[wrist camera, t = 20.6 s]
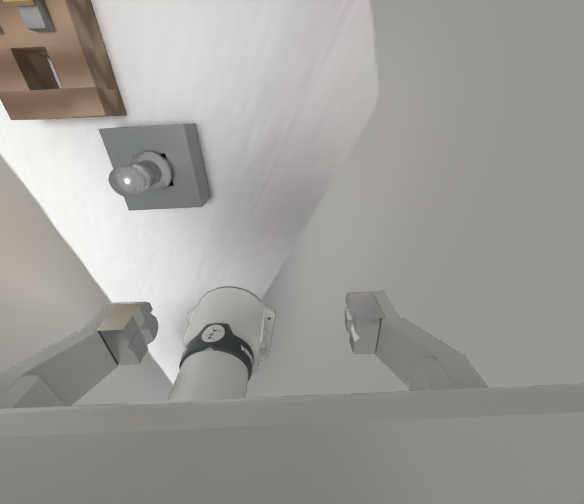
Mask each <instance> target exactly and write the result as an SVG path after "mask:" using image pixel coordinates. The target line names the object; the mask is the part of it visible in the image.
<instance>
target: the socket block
mask: <svg viewBox="0 0 584 504" xmlns="http://www.w3.org/2000/svg"><path fill="white" fill-rule="evenodd" d="M33 2H34V4H35V5H33V6H13V5H10V4H8V3H5V2H3V0H0V99H1V101H2V103H3V105H4V107H5V109H6V111H7V113H8V115H9V117H10V119H11V120H37V119H61V118H81V117H101V116H121V115H127V114H126V111H125V108H124V105H123V102H122V98H121V95H120V92H119V89H118V86H117V83H116V80H115V76H114V73H113V70H112V67H111V64H110V61H109V58H108V54H107V51H106V48H105V45H104V42H103V39H102V36H101V32H100V29H99V26H98V23H97V20H96V17H95V14H94V10H93V7H92V4H91V1H90V0H33ZM46 57H50V59H51V62H52V64H53V67H54V69H55V72H56V74H57V76H58V79H59V81H60V84H61V86H62V89H59V87H58V85H57V82H56V80H55V77H54V75H53V73H52V70H51V68H50V65H49V63H48V60H47V58H46Z"/></svg>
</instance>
